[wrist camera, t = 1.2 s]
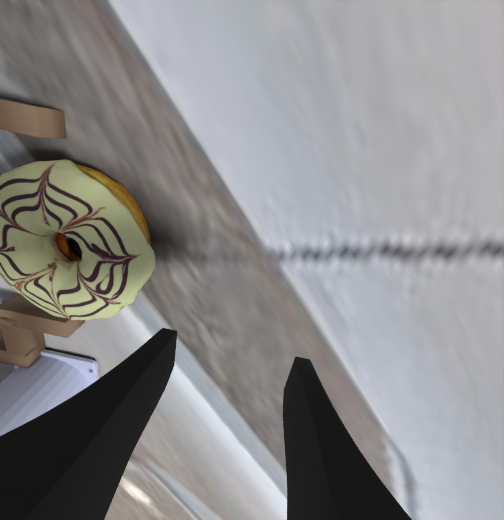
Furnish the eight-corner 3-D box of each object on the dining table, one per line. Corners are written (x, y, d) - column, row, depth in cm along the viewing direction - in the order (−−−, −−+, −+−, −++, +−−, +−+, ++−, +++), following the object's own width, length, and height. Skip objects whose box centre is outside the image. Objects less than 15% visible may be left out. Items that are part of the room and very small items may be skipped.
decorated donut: (191, 250, 19) (172, 274, 15) (103, 318, 22) (71, 351, 19) (75, 123, 16) (20, 118, 12) (-6, 224, 19) (-67, 242, 16)
